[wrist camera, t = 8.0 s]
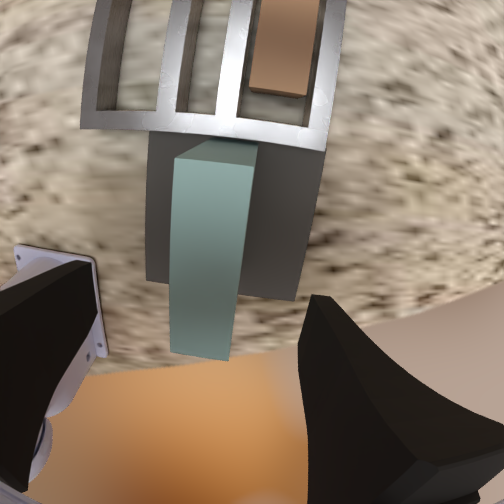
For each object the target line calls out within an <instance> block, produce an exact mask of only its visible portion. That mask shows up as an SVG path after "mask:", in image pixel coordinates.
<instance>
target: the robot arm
mask: <svg viewBox="0 0 504 504" xmlns="http://www.w3.org/2000/svg"><path fill="white" fill-rule="evenodd" d="M14 255H15V260H16V265H17V270H18V272H17V273H16V274H15V275H13V276H12V277H11V278H10V279H9V280H8V281H7V282H6V283H4V284H3V285H2V286H1V287H0V504H41V503H39V502H37V501H35V500H33V499H31V498H29V497H27V496H25V495H24V494H22V493H23V492H25V491H27V490H28V483H29V482H31V481H32V480H33V479H34V478H35V477H36V476H37V475H38V474H39V473H40V471H41V470H42V468H43V467H44V465H45V464H46V462H47V459H48V457H49V455H50V452H51V448H52V426H51V423H50V421H49V420H48V419H47V418H46V417H51V416H54V415H56V414H58V413H60V412H62V411H63V410H64V409H65V408H66V407H68V406H69V404H70V403H71V402H72V400H73V398H74V396H75V394H76V392H77V390H78V389H79V387H80V385H81V383H82V381H83V380H84V378H85V376H86V374H87V372H88V370H89V369H90V367H91V365H92V363H93V362H94V360H95V358H96V356H98V357H102V358H106V357H107V355H108V349H107V343H106V338H105V333H104V327H103V321H102V314H101V308H100V301H99V294H98V286H97V278H96V268H95V262H94V260H93V259H92V258H90V257H86V256H80V255H75V254H69V253H63V252H58V251H52V250H47V249H41V248H36V247H30V246H25V245H20V244H17V245H16V246H15V247H14ZM20 257H21V258H20ZM100 343H101V344H100ZM298 372H299V379H300V386H301V392H302V399H303V405H304V412H305V419H306V425H307V435H308V501H307V504H477V503H478V502H480V496H479V493H478V490H479V489H480V488H481V487H483V486H484V485H485V484H486V483H488V481H490V480H491V479H492V478H494V476H496V475H497V474H498V473H499V472H500V471H502V470H503V469H504V425H503V424H501V423H499V422H496V421H494V420H491V419H489V418H486V417H484V416H481V415H479V414H476V413H474V412H472V411H470V410H468V409H466V408H464V407H462V406H460V405H458V404H456V403H454V402H452V401H450V400H449V399H447V398H445V397H444V396H442V395H440V394H438V393H437V392H435V391H434V390H432V389H431V388H429V387H428V386H426V385H425V384H423V383H422V382H420V381H419V380H417V379H416V378H415V377H413V376H412V375H411V374H409V373H408V372H407V371H406V370H404V369H403V368H402V367H400V366H399V365H398V364H397V363H396V362H394V361H393V360H392V359H391V358H390V357H389V356H388V355H387V354H385V353H384V352H383V351H382V350H381V349H380V348H379V347H378V346H377V345H376V344H375V343H374V342H373V341H372V340H371V339H370V338H369V337H368V336H367V335H366V334H365V333H364V332H363V331H362V330H361V329H360V328H359V327H358V326H357V325H356V323H355V322H354V321H353V320H352V319H351V318H350V317H349V316H348V315H347V314H346V312H345V311H344V310H343V309H342V308H341V307H340V306H339V305H338V304H337V303H336V302H335V301H334V300H333V299H332V298H331V297H330V296H323V295H314V294H311V298H310V302H309V306H308V309H307V313H306V317H305V320H304V324H303V327H302V331H301V334H300V338H299V341H298ZM495 504H504V499H503V500H501V501H499V502H497V503H495Z"/></svg>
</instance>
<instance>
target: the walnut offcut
mask: <svg viewBox="0 0 504 504" xmlns="http://www.w3.org/2000/svg"><path fill="white" fill-rule="evenodd" d="M319 1H320V0H262V3H261V9H260V15H259V22H258V28H257V34H256V41H255V48H254V54H253V61H252V68H251V75H250V81H249V88H250V89H251V91H252V92H255V93H263V94H270V95H277V96H283V97H290V98H295V99H298V98H300V97H303V96H305V95H306V93H307V86H308V80H309V73H310V66H311V59H312V52H313V45H314V38H315V31H316V23H317V16H318V8H319Z"/></svg>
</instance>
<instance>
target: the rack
mask: <svg viewBox="0 0 504 504" xmlns="http://www.w3.org/2000/svg"><path fill="white" fill-rule="evenodd" d="M131 2H132V0H97V3H96V7H95V12H94V17H93V22H92V27H91V32H90V38H89V44H88V50H87V57H86V65H85V73H84V81H83V91H82V103H81V117H80V129H122V130H149V131H167V132H181V133H194V134H205V135H215V136H224V137H233V138H242V139H249V140H257V141H264V142H271V143H278V144H284V145H290V146H296V147H302V148H308V149H313V150H319V151H324V152H325V147H326V142H327V136H328V130H329V124H330V118H331V112H332V106H333V100H334V93H335V87H336V80H337V73H338V66H339V59H340V52H341V45H342V37H343V29H344V21H345V12H346V3H347V0H320V7H319V15H318V22H317V30H316V37H315V44H314V51H313V58H312V65H311V72H310V79H309V85H308V92H307V98H306V105H305V111H304V118H303V124H302V126H299V125H293V124H287V123H281V122H274V121H268V120H261V119H253V118H245V117H240V110H241V102H242V95H243V88H244V81H245V74H246V67H247V60H248V54H249V47H250V40H251V34H252V28H253V21H254V15H255V9H256V3H257V0H232V5H231V10H230V16H229V22H228V28H227V34H226V41H225V47H224V54H223V60H222V67H221V74H220V81H219V89H218V96H217V104H216V112H215V114H207V113H194V112H187V106H188V97H189V89H190V82H191V74H192V67H193V60H194V53H195V47H196V40H197V34H198V28H199V22H200V17H201V11H202V6H203V0H173V1H172V6H171V11H170V16H169V22H168V27H167V33H166V39H165V45H164V52H163V59H162V66H161V73H160V81H159V89H158V98H157V107H156V110H116V99H117V89H118V80H119V72H120V65H121V57H122V51H123V44H124V38H125V32H126V27H127V21H128V16H129V11H130V6H131Z"/></svg>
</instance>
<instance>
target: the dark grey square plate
mask: <svg viewBox="0 0 504 504" xmlns="http://www.w3.org/2000/svg"><path fill="white" fill-rule="evenodd" d="M213 137H216V138H225V139H234V140H242V141H250V142H257V143H258V150H257V157H256V164H255V171H254V178H253V186H252V193H251V200H250V207H249V215H248V222H247V229H246V237H245V244H244V251H243V259H242V266H241V274H240V281H239V288H238V294H239V295H247V296H254V297H262V298H270V299H278V300H286V301H295V297H296V292H297V288H298V284H299V280H300V275H301V271H302V267H303V262H304V258H305V253H306V249H307V244H308V240H309V235H310V230H311V226H312V221H313V216H314V211H315V206H316V201H317V196H318V191H319V186H320V181H321V176H322V171H323V165H324V160H325V154H326V148H325V152H324V151H319V150H313V149H308V148H302V147H296V146H290V145H284V144H278V143H271V142H264V141H257V140H249V139H242V138H233V137H224V136H215V135H205V134H194V133H181V132H167V131H149V145H148V160H147V180H146V216H145V255H146V281H152V282H159V283H165V284H169V270H170V230H171V207H172V189H173V174H174V161H175V158H176V157H177V156H179V155H181V154H183V153H185V152H186V151H188V150H190V149H192V148H194V147H196V146H198V145H199V144H201V143H203V142H205V141H207V140H209V139H211V138H213Z"/></svg>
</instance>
